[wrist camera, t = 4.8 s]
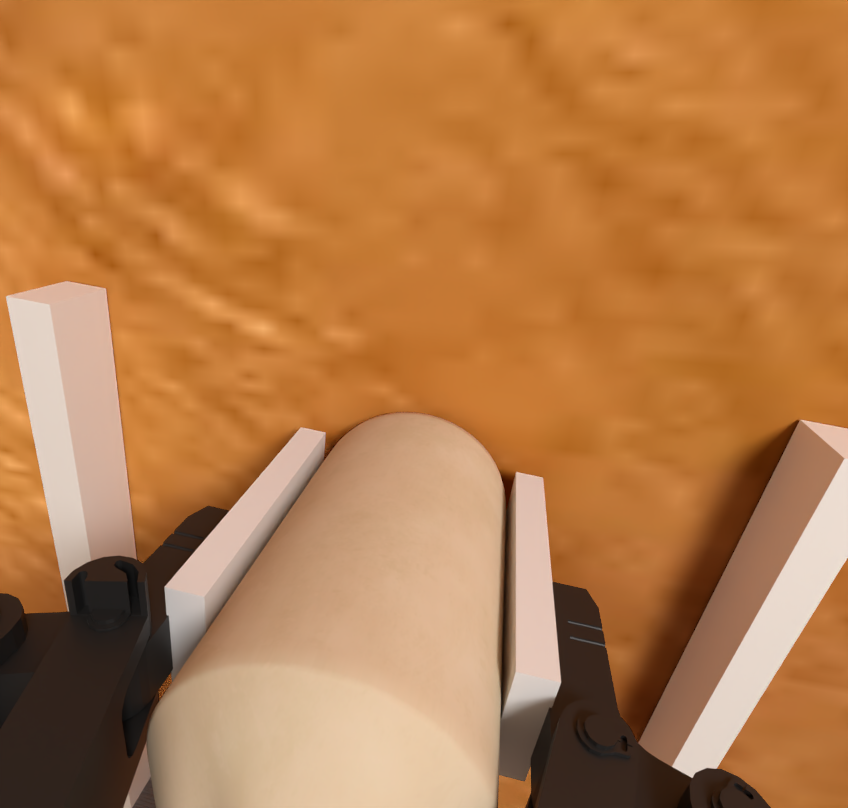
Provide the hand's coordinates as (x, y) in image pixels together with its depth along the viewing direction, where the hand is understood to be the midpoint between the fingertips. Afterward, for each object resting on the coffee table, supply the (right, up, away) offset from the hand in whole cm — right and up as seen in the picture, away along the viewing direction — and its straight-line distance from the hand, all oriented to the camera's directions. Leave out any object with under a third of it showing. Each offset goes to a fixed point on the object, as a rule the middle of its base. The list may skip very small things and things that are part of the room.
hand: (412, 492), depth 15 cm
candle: (0, 0, +1) cm, 1 cm away
